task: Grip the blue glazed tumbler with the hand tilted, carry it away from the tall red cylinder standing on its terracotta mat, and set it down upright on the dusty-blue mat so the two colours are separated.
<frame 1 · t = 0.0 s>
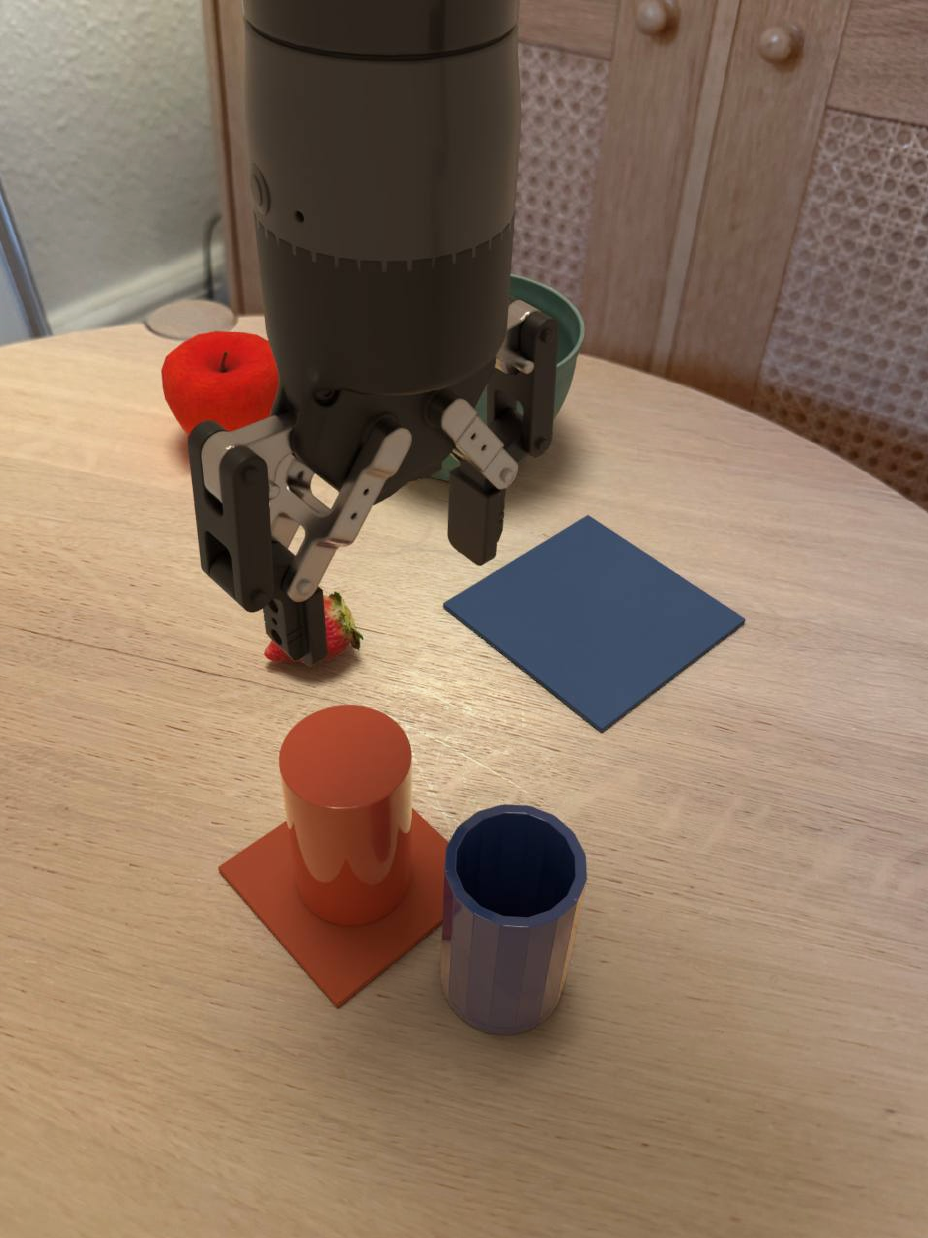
hand: (391, 599, 42), 20 cm above the table, tool pointing down, fingers open, 8 cm apart
fruit: (314, 658, 67), on the table
red mat: (354, 878, 56), on the table
apple: (233, 443, 83), on the table
flower pot: (463, 450, 83), on the table
blue cup: (501, 975, 53), on the table
blue mat: (593, 615, 71), on the table
tall red cylinder: (353, 874, 56), resting on red mat
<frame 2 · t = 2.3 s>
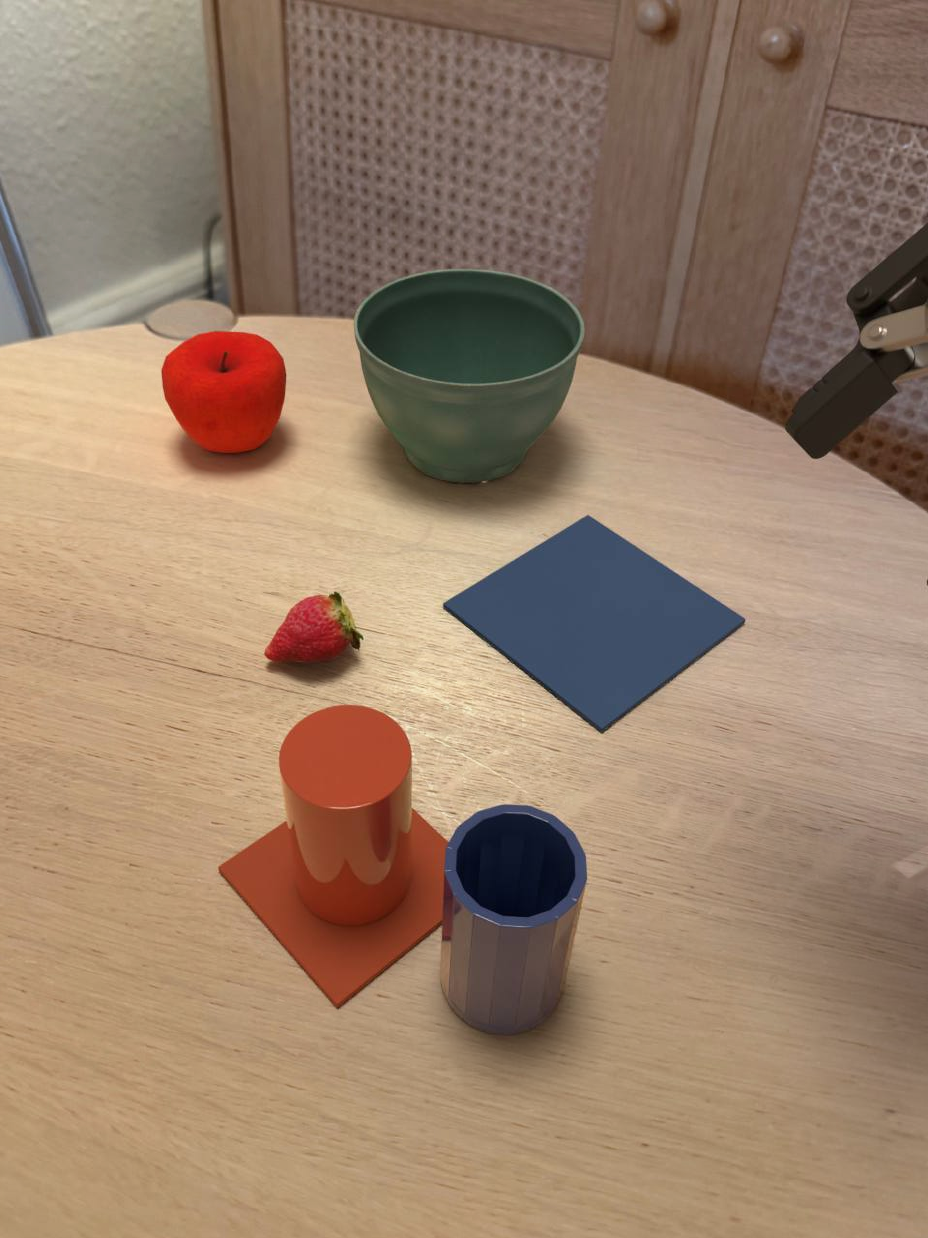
hand: (864, 516, 37), 26 cm above the table, tool tilted 45°, fingers open, 8 cm apart
nothing on the table moved.
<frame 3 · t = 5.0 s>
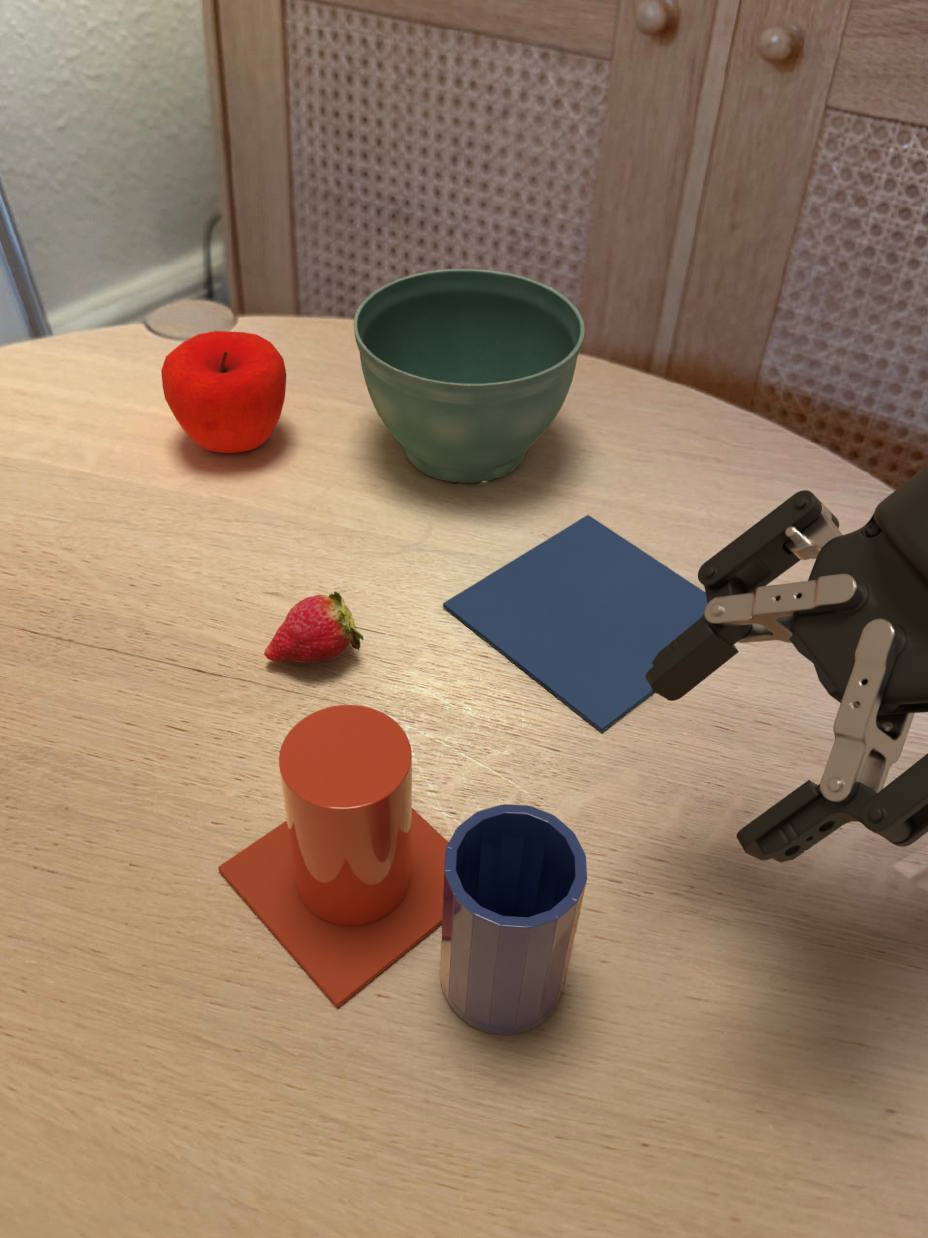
hand: (700, 765, 45), 14 cm above the table, tool tilted 45°, fingers open, 8 cm apart
nothing on the table moved.
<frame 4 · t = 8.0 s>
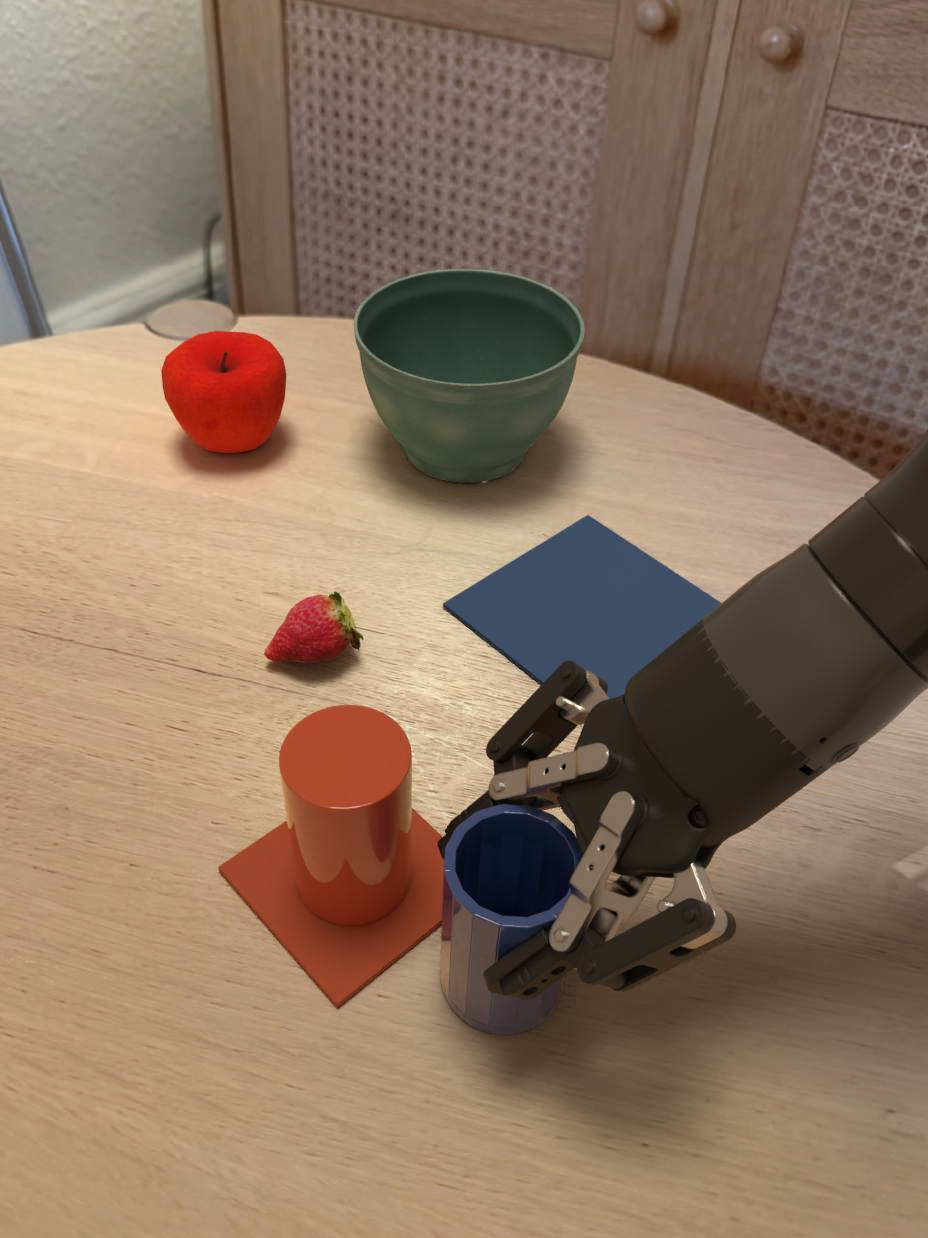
hand: (474, 918, 48), 6 cm above the table, tool tilted 45°, fingers closed on blue cup, 6 cm apart
blue cup: (501, 975, 53), on the table, touching gripper
everything else where it was.
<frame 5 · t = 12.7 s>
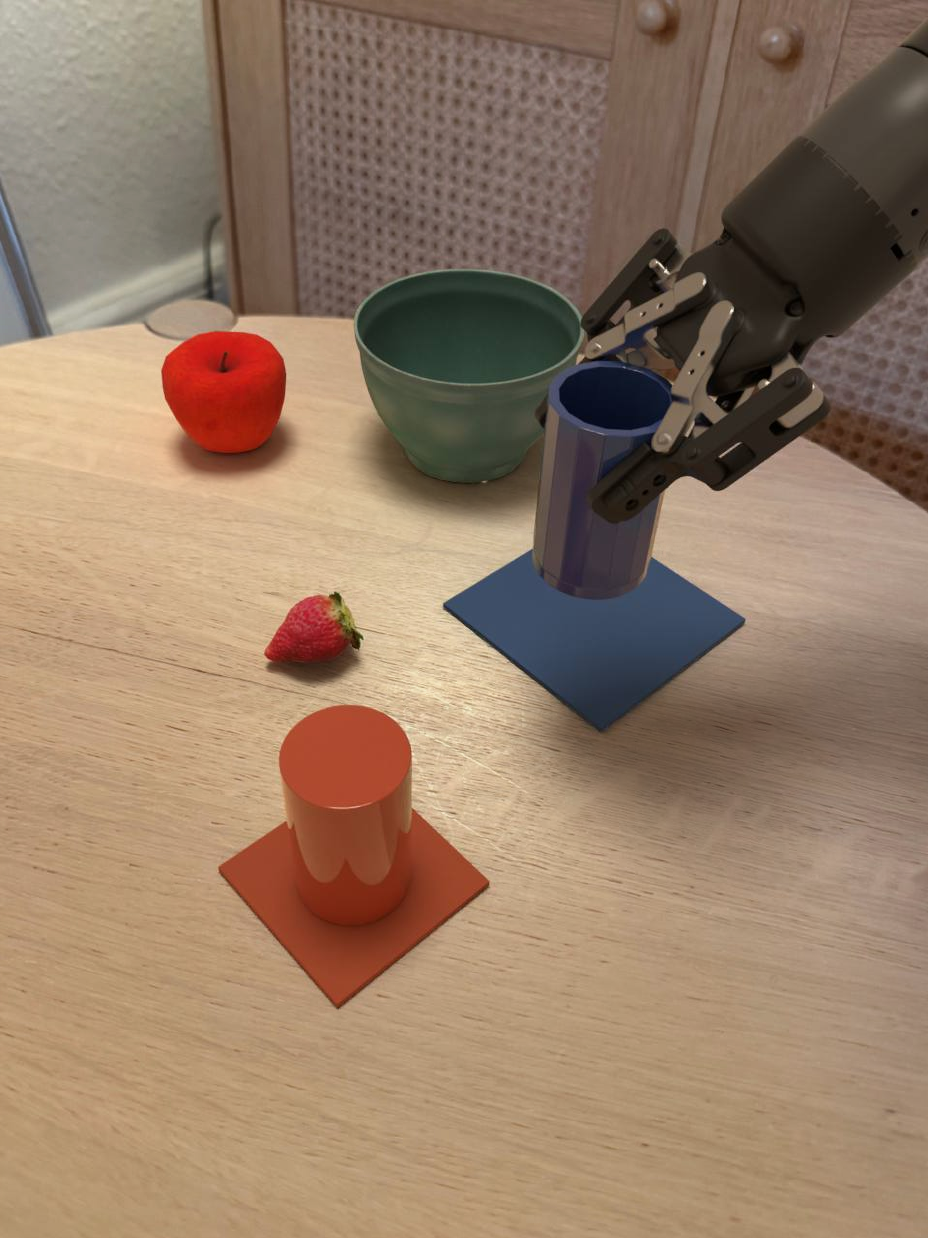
hand: (572, 468, 51), 19 cm above the table, tool tilted 45°, fingers closed on blue cup, 6 cm apart
blue cup: (589, 560, 56), point 12 cm above the table, touching gripper
everything else where it was.
when the fingers open (7 cm above the table, at t = 17.6 s): blue cup stays where it is, resting on blue mat.
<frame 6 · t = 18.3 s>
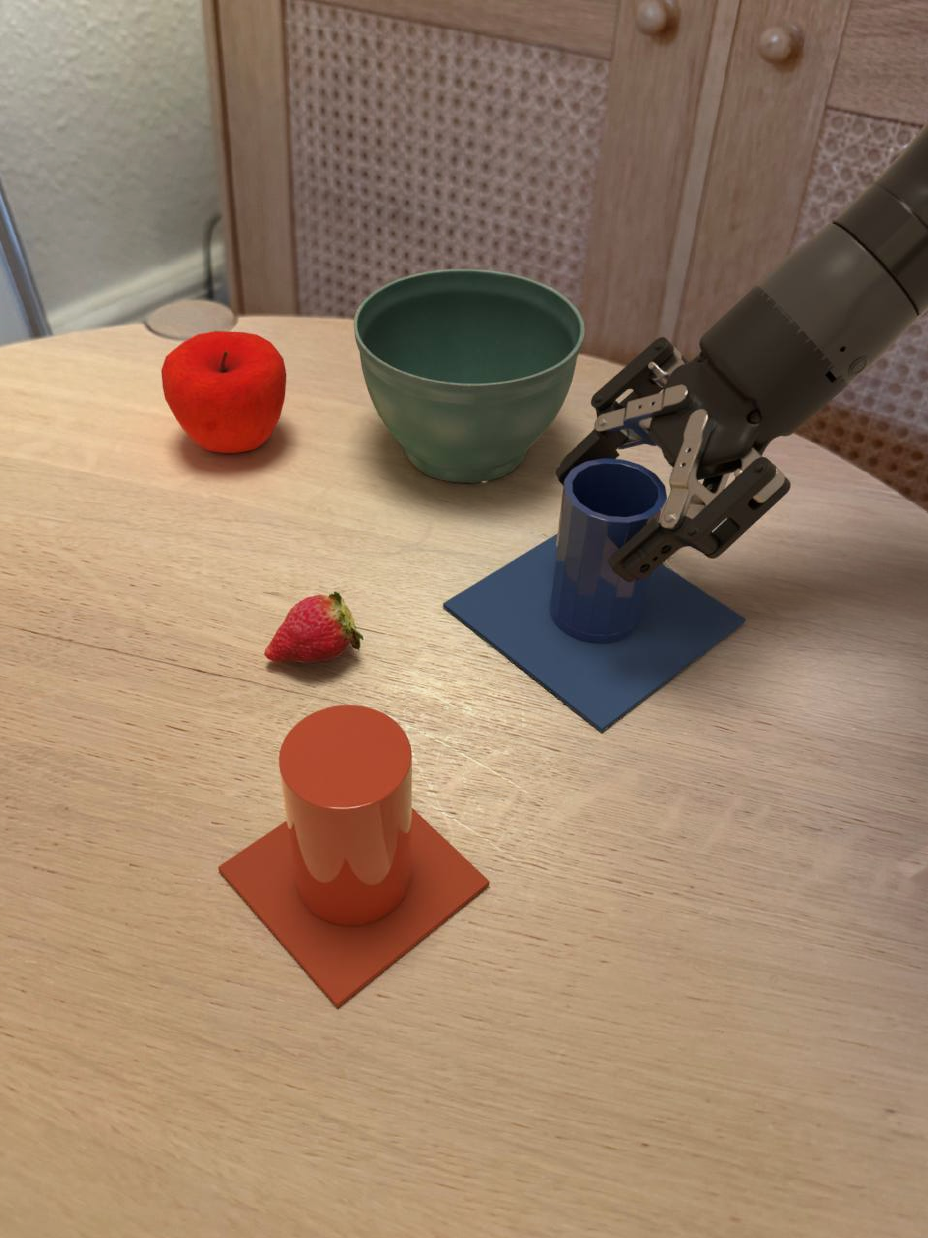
hand: (590, 526, 65), 8 cm above the table, tool tilted 45°, fingers open, 8 cm apart
blue cup: (594, 610, 70), resting on blue mat
everything else where it was.
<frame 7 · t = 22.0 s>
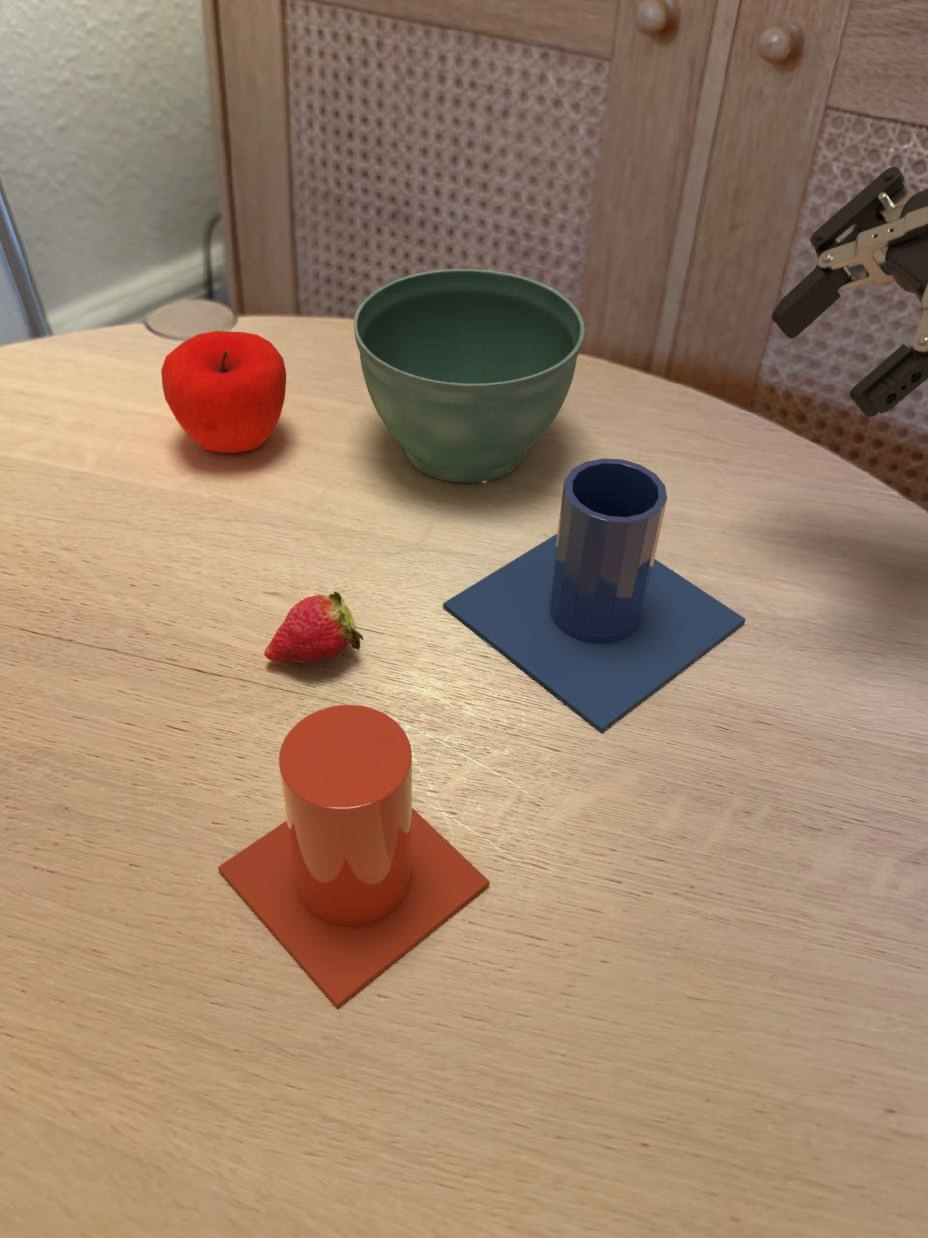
hand: (817, 366, 62), 17 cm above the table, tool tilted 45°, fingers open, 8 cm apart
nothing on the table moved.
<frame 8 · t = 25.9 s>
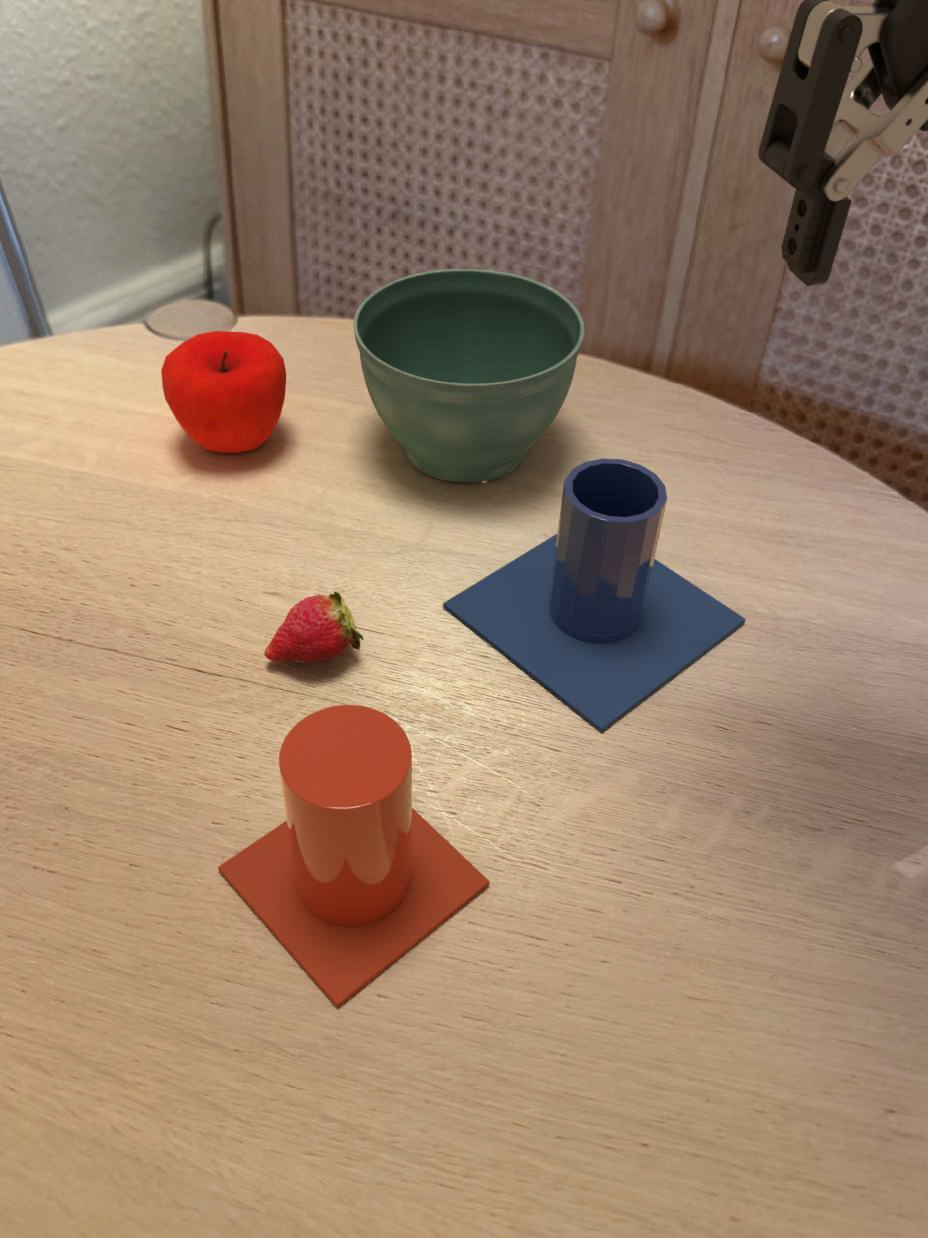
hand: (892, 265, 46), 28 cm above the table, tool pointing down, fingers open, 8 cm apart
nothing on the table moved.
at the end: blue cup inside the target area on the blue mat (0.1 cm from its centre), point 0.4 cm above the blue mat's base; blue cup tilted 0°; tall red cylinder moved 0.0 cm from its start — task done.
